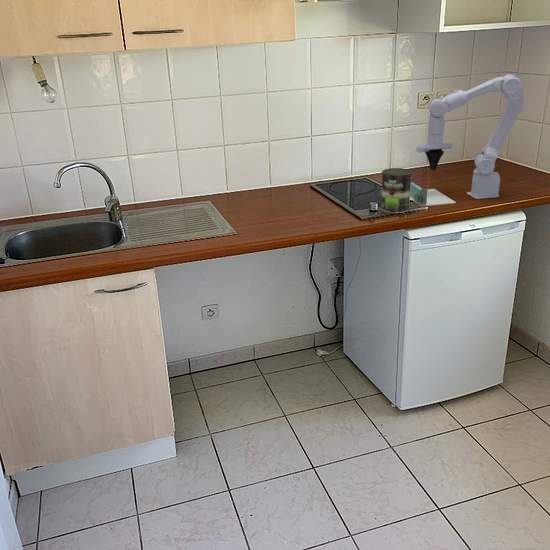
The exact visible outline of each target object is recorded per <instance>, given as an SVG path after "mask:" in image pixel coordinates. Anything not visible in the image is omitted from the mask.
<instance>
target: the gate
mask: <svg viewBox="0 0 550 550" xmlns="http://www.w3.org/2000/svg"><path fill="white" fill-rule="evenodd" d="M421 190H422V187H421V186H419V185H417V184H416V183H414V182H412V181H411V191H410V195H411V196H412V197H413V198H414V195H417V196H419V197H420V200H419V202H421Z"/></svg>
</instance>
